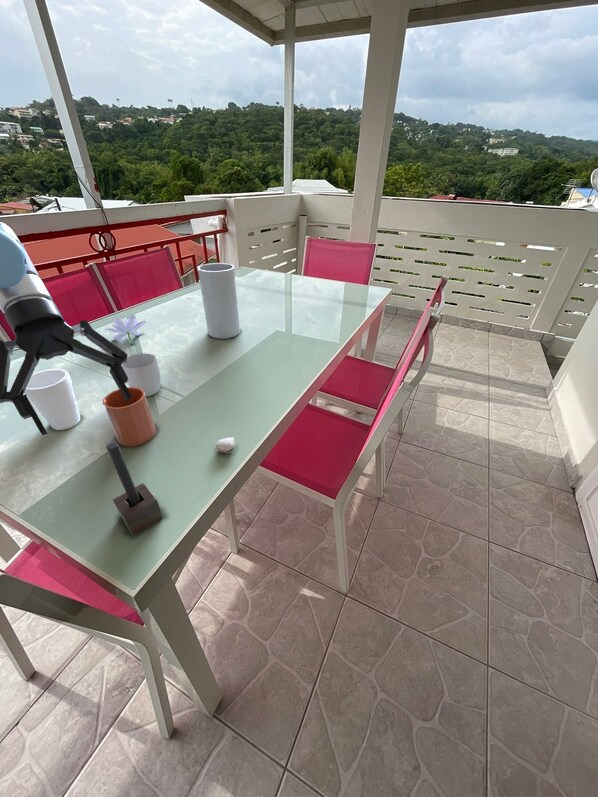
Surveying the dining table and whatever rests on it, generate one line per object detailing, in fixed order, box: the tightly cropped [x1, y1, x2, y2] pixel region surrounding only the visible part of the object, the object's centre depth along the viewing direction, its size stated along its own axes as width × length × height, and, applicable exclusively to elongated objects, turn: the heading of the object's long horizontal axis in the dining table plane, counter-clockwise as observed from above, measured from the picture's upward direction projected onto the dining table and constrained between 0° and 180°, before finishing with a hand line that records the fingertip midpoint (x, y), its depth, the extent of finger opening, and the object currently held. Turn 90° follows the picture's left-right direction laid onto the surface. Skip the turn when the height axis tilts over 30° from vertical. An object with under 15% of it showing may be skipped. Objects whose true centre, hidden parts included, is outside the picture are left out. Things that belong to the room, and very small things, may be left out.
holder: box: [112, 482, 164, 537], centre depth 60 cm, size 6×6×5 cm
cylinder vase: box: [197, 262, 241, 340], centre depth 124 cm, size 12×12×25 cm
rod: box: [106, 441, 141, 507], centre depth 56 cm, size 2×2×18 cm
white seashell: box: [215, 437, 236, 454], centre depth 76 cm, size 4×5×2 cm
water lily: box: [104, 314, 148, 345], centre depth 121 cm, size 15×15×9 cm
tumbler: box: [102, 386, 157, 447], centre depth 77 cm, size 9×9×11 cm
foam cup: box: [23, 368, 81, 431], centre depth 80 cm, size 10×9×13 cm
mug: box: [121, 352, 162, 397], centre depth 95 cm, size 13×9×10 cm
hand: (89, 415), depth 57 cm, fingers open, 13 cm apart
